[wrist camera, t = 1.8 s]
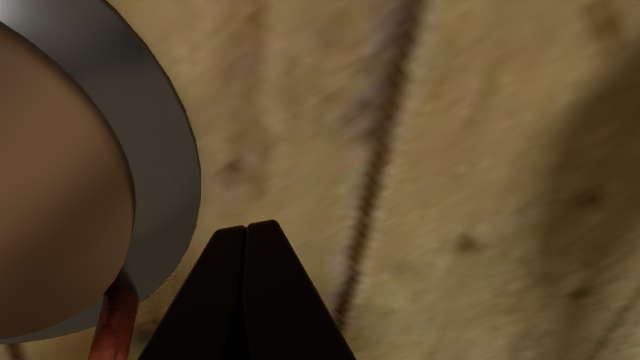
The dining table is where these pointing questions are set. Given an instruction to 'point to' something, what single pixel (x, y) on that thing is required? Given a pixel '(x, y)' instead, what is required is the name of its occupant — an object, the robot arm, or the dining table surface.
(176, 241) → the bowl
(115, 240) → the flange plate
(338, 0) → the dining table surface
